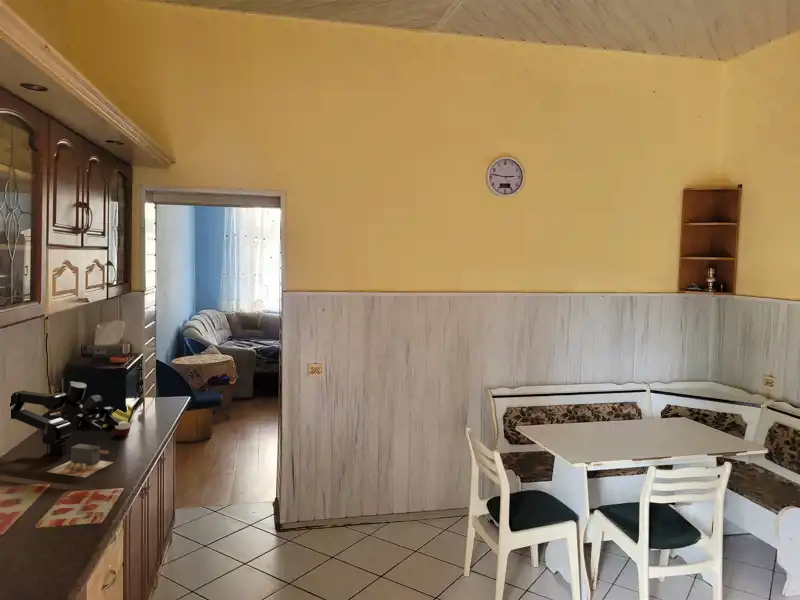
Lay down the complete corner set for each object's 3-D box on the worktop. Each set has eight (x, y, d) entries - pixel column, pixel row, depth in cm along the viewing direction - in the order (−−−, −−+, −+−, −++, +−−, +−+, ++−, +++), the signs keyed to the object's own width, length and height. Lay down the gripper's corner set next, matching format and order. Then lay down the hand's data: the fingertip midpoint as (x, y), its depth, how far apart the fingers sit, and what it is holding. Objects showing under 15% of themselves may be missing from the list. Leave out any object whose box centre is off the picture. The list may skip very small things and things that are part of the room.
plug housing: (70, 462, 235) (71, 447, 235) (79, 458, 240) (79, 443, 239) (103, 466, 233) (103, 451, 232) (111, 462, 237) (111, 447, 237)
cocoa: (111, 438, 271) (110, 412, 269) (113, 433, 277) (111, 408, 275) (134, 436, 274) (133, 410, 272) (135, 431, 280) (135, 406, 278)
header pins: (70, 470, 227) (70, 462, 227) (71, 469, 228) (71, 461, 228) (84, 472, 226) (84, 464, 226) (86, 471, 227) (86, 463, 227)
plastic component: (130, 423, 286) (109, 414, 282) (122, 437, 286) (101, 428, 282) (136, 408, 304) (116, 400, 301) (129, 421, 304) (109, 413, 301)
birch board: (46, 475, 225) (46, 471, 225) (77, 461, 241) (77, 457, 241) (84, 481, 222) (84, 476, 222) (113, 466, 238) (113, 462, 238)
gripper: (66, 396, 231) (99, 412, 228) (100, 388, 249) (132, 403, 246) (57, 423, 232) (90, 440, 229) (92, 413, 250) (124, 429, 247)
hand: (110, 427), depth 238 cm, fingers open, 9 cm apart
